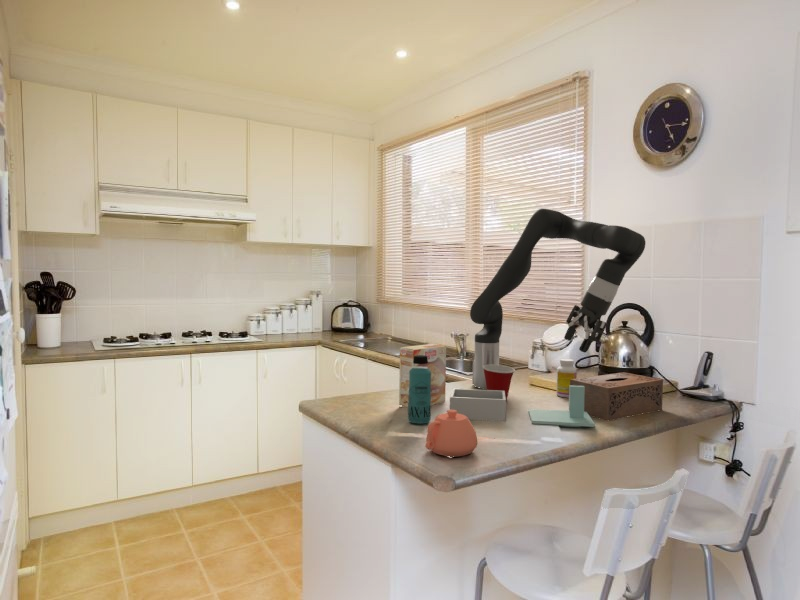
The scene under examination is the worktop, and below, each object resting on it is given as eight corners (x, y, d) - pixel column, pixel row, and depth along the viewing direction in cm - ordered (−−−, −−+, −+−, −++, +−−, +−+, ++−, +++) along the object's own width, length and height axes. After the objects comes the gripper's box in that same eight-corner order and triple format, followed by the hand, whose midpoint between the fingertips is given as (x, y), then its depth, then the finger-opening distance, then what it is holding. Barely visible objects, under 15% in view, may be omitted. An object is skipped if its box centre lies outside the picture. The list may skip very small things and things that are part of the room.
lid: (531, 426, 148) (532, 389, 148) (528, 414, 161) (529, 379, 161) (594, 430, 145) (595, 391, 145) (586, 417, 158) (587, 382, 158)
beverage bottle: (404, 423, 150) (404, 354, 149) (425, 421, 153) (425, 353, 152) (413, 430, 144) (414, 357, 143) (435, 427, 147) (436, 356, 146)
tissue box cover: (623, 401, 180) (623, 372, 180) (662, 410, 168) (663, 379, 167) (569, 410, 167) (570, 379, 167) (607, 421, 155) (608, 388, 154)
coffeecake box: (413, 411, 164) (413, 349, 163) (398, 407, 169) (398, 346, 168) (446, 404, 174) (447, 345, 173) (431, 399, 179) (431, 343, 178)
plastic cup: (508, 408, 169) (508, 371, 168) (476, 403, 174) (477, 367, 174) (519, 401, 178) (519, 366, 177) (489, 397, 184) (489, 362, 183)
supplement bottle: (577, 398, 182) (578, 361, 181) (557, 397, 183) (558, 361, 183) (574, 394, 189) (575, 358, 188) (555, 393, 190) (556, 358, 189)
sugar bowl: (488, 454, 126) (488, 412, 125) (443, 466, 118) (443, 421, 117) (454, 441, 136) (454, 401, 135) (410, 451, 127) (410, 409, 127)
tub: (449, 421, 153) (449, 397, 153) (452, 410, 165) (452, 388, 165) (505, 424, 151) (505, 399, 150) (504, 413, 163) (504, 390, 162)
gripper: (576, 284, 156) (552, 332, 159) (603, 299, 143) (577, 352, 146) (596, 291, 158) (572, 339, 162) (625, 307, 145) (598, 359, 148)
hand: (574, 345), depth 154 cm, fingers open, 8 cm apart
